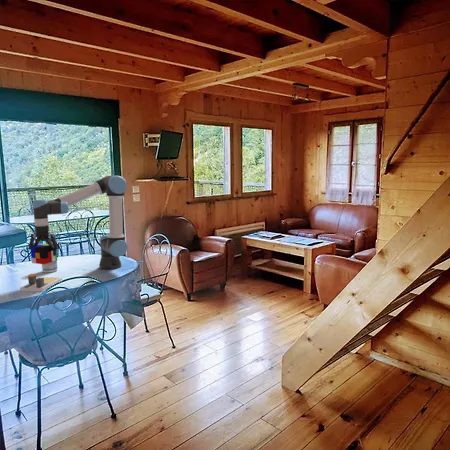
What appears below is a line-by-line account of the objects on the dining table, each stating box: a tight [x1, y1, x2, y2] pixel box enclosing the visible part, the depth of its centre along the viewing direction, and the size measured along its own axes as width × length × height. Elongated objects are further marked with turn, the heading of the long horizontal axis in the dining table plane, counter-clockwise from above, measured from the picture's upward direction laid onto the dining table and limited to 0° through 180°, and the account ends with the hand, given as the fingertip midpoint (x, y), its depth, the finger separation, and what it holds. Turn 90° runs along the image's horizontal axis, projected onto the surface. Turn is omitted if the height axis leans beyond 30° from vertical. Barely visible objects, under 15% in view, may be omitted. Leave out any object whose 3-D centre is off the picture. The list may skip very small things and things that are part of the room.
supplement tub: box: [41, 260, 58, 273], centre depth 264 cm, size 10×10×15 cm
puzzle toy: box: [30, 243, 58, 265], centre depth 234 cm, size 10×10×10 cm
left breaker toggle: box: [36, 277, 44, 287], centre depth 223 cm, size 3×3×4 cm
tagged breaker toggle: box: [27, 273, 37, 284], centre depth 229 cm, size 3×3×5 cm
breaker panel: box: [19, 276, 63, 292], centre depth 232 cm, size 14×21×2 cm, turn 174°
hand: (44, 260), depth 234 cm, fingers closed on puzzle toy, 11 cm apart
